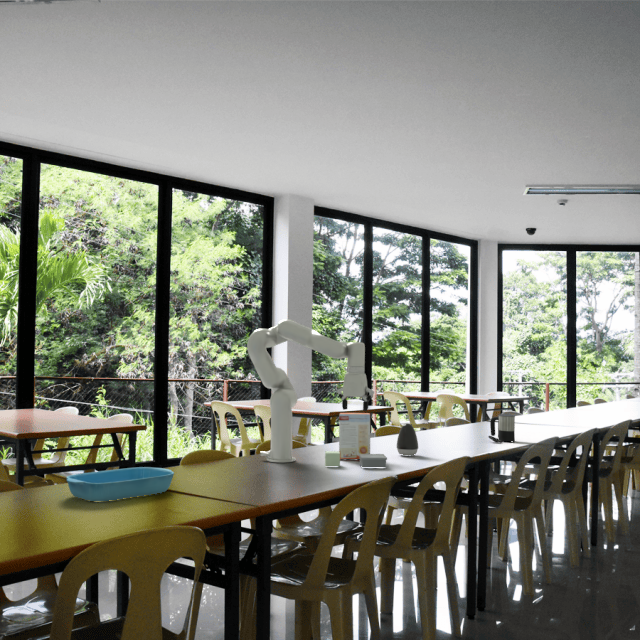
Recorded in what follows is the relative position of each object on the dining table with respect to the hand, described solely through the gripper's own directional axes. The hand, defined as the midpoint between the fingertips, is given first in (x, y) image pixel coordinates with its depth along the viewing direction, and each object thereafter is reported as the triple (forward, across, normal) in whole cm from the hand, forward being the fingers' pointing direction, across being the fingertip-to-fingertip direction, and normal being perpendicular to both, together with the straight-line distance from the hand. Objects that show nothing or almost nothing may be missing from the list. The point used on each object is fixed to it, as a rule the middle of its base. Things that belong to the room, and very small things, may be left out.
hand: (355, 410), depth 297 cm
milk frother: (+23, +37, +113) cm, 121 cm away
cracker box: (+24, -5, +12) cm, 27 cm away
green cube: (+24, -5, -10) cm, 26 cm away
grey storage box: (+24, +10, -3) cm, 26 cm away
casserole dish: (+24, -40, -98) cm, 109 cm away
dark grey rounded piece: (+23, +11, +36) cm, 44 cm away
